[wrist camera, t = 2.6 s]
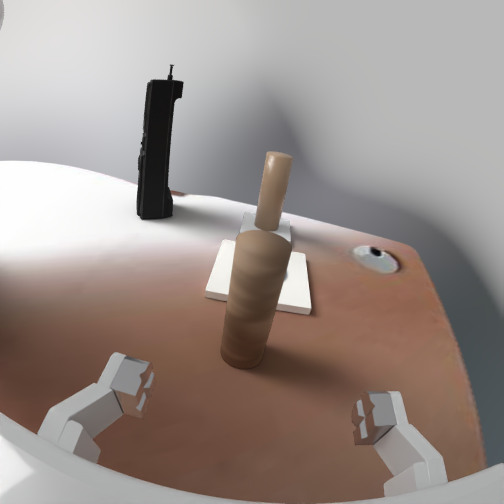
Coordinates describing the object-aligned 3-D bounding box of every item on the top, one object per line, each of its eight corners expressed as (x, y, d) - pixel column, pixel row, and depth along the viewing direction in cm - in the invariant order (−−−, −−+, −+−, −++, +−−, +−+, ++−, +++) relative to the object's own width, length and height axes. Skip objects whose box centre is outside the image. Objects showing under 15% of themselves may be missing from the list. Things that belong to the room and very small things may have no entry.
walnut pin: (217, 364, 25) (232, 252, 19) (224, 333, 29) (239, 226, 23) (261, 372, 26) (292, 263, 19) (263, 340, 29) (291, 235, 23)
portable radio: (136, 201, 52) (144, 66, 39) (167, 200, 54) (179, 67, 42) (137, 220, 46) (145, 63, 33) (172, 218, 48) (186, 65, 36)
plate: (204, 297, 33) (205, 288, 33) (222, 245, 43) (223, 237, 43) (308, 314, 33) (311, 307, 33) (303, 259, 44) (305, 252, 43)
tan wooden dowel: (238, 237, 46) (251, 155, 39) (244, 216, 53) (255, 145, 46) (289, 247, 46) (308, 166, 39) (288, 224, 53) (304, 154, 46)
